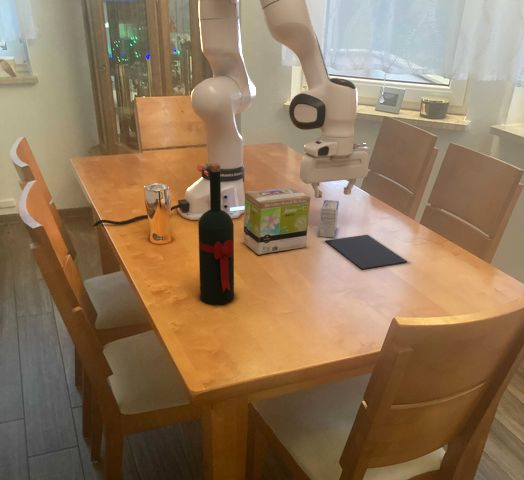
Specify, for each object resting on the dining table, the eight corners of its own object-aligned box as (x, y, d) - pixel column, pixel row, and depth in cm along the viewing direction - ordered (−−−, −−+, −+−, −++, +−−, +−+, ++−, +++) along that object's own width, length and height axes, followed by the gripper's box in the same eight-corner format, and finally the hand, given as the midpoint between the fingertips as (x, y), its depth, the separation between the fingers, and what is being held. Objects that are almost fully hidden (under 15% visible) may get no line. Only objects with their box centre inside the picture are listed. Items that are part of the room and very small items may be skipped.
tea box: (259, 256, 146) (260, 202, 138) (242, 243, 153) (243, 191, 145) (306, 247, 152) (311, 195, 144) (289, 235, 159) (292, 184, 151)
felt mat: (361, 270, 141) (362, 268, 141) (325, 241, 156) (325, 240, 156) (406, 262, 145) (407, 261, 145) (367, 236, 161) (367, 234, 161)
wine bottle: (210, 312, 120) (207, 174, 103) (195, 292, 127) (189, 161, 111) (243, 306, 123) (245, 171, 106) (226, 287, 130) (225, 158, 114)
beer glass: (177, 237, 155) (174, 184, 147) (166, 246, 150) (162, 192, 142) (155, 233, 157) (151, 181, 149) (143, 242, 152) (138, 188, 143)
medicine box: (333, 238, 158) (337, 209, 154) (318, 236, 159) (321, 207, 154) (336, 228, 165) (339, 200, 160) (321, 227, 166) (324, 199, 161)
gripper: (363, 140, 154) (358, 189, 162) (298, 145, 147) (296, 196, 155) (375, 145, 149) (369, 195, 157) (309, 150, 142) (306, 202, 150)
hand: (332, 195), depth 156 cm, fingers open, 8 cm apart
